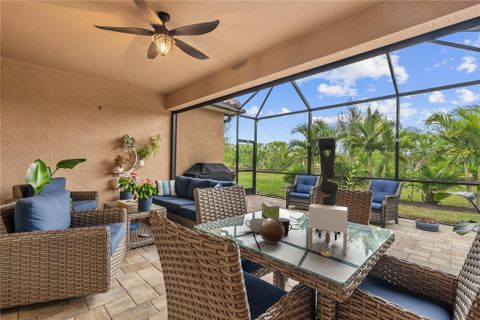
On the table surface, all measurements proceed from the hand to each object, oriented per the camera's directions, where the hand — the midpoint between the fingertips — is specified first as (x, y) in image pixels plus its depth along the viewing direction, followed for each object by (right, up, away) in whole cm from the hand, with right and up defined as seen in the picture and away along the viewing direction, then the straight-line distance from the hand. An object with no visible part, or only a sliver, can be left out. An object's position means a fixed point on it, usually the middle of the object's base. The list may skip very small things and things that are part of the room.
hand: (327, 239), depth 141 cm
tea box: (-30, -1, +43) cm, 52 cm away
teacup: (-44, -1, +19) cm, 48 cm away
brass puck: (-8, -2, -18) cm, 20 cm away
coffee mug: (-25, -1, +12) cm, 28 cm away
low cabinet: (-4, -2, -10) cm, 11 cm away
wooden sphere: (-35, -1, -3) cm, 35 cm away
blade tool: (-2, -2, -5) cm, 6 cm away
